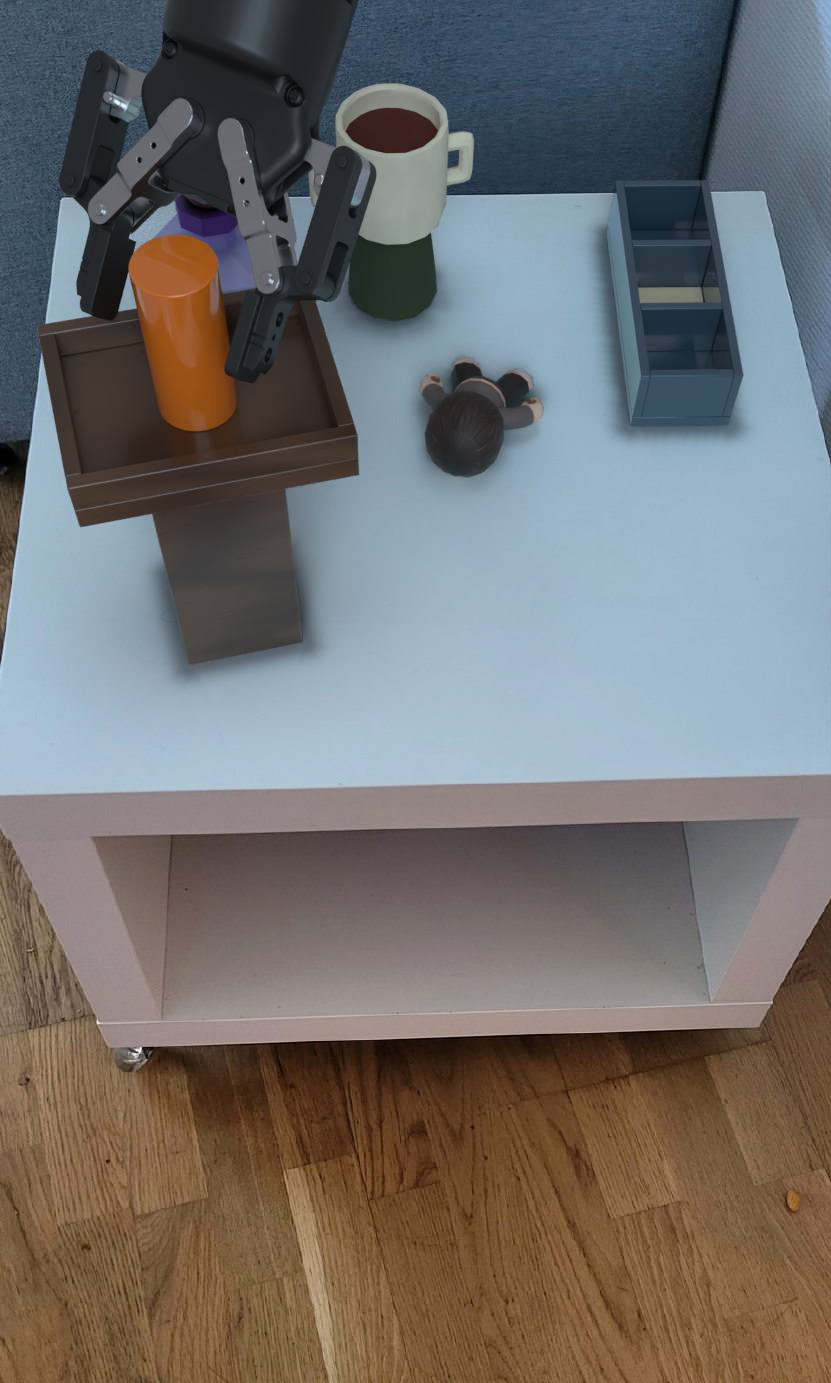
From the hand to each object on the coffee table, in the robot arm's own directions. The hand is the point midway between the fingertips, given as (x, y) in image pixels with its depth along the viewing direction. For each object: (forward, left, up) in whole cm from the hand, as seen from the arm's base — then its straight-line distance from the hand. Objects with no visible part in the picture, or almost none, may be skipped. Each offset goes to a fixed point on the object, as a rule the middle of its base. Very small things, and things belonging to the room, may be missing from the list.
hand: (167, 347), depth 61 cm
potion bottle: (-5, -24, -21) cm, 32 cm away
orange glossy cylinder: (-1, -1, -5) cm, 5 cm away
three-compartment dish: (-35, -18, -21) cm, 44 cm away
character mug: (-17, -25, -21) cm, 37 cm away
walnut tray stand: (-1, -1, -21) cm, 21 cm away
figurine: (-19, -11, -21) cm, 31 cm away
